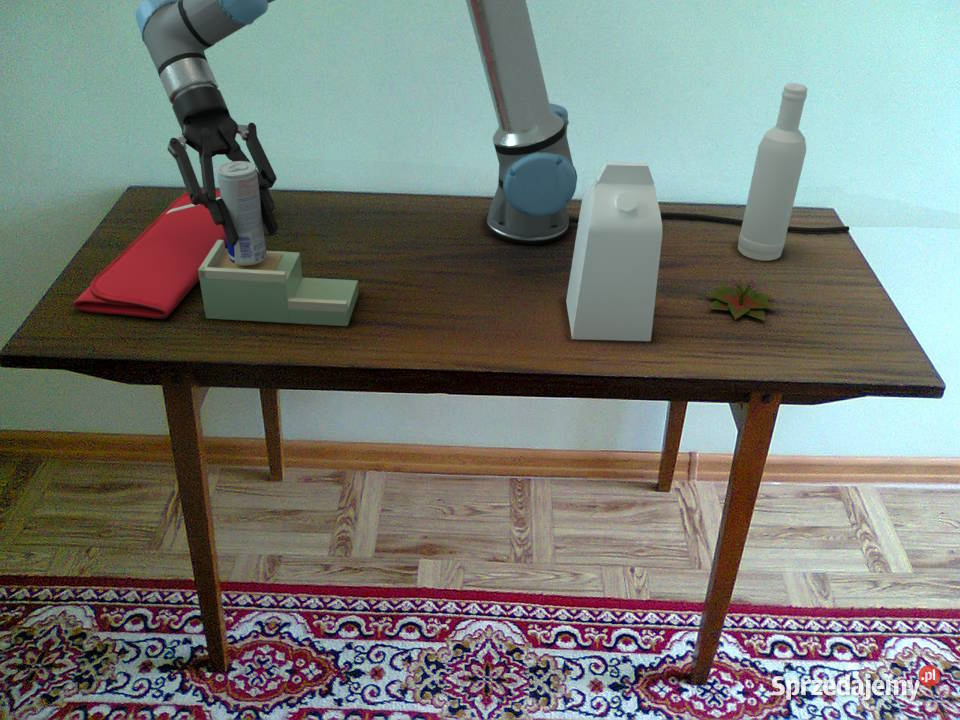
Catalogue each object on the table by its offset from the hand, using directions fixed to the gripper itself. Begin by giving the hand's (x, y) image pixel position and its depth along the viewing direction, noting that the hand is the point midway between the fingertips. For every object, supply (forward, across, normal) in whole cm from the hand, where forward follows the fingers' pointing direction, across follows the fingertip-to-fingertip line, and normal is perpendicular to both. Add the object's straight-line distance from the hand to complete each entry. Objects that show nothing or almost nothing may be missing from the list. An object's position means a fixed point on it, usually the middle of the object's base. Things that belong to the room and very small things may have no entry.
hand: (254, 236), depth 136 cm
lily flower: (+38, -65, +20) cm, 78 cm away
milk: (+32, -43, +13) cm, 55 cm away
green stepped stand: (+9, -4, -9) cm, 13 cm away
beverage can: (+1, 0, -6) cm, 7 cm away
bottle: (+31, -83, +12) cm, 89 cm away
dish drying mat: (-8, +4, -27) cm, 29 cm away
